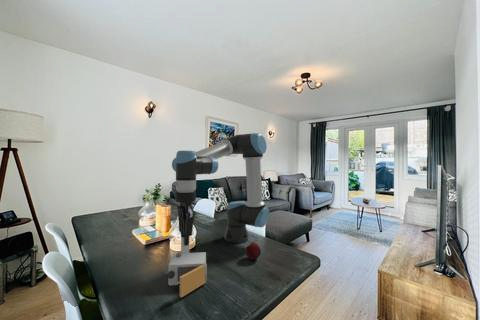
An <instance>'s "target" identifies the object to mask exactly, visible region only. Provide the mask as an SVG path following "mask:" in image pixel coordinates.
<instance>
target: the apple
mask: <svg viewBox="0 0 480 320" xmlns="http://www.w3.org/2000/svg"><path fill="white" fill-rule="evenodd" d="M244 250H245V254H246V256H247V257H246V258H248V259H250V260H251V261H253V260H257V259H258V258H259V257H260V256H261V253H262V250H261V247H260V245H259V244H258V243H256V242H254V241H252V242H251V243H250V244H248V245H247V246H246V247H245V249H244Z"/></svg>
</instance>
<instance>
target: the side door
mask: <svg viewBox="0 0 480 320" xmlns="http://www.w3.org/2000/svg"><path fill="white" fill-rule="evenodd" d="M207 265H208V264H207V263H206V264H204V265H201V266H200V267H198V268H196V269H194V270H192V271H190V272H188V273H186V274H184V275H182V276H180V285H179V298H183V297H185V296H187V295H188V294H190V293H191V292H193V291H195V290H196V289H198V288H199V287H201V286H203V285H204V284H206V283H207V282H208V281H207V278H208V277H207V276H208V273H207V271H208V269H207V267H208V266H207Z"/></svg>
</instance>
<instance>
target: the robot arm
mask: <svg viewBox="0 0 480 320" xmlns="http://www.w3.org/2000/svg"><path fill="white" fill-rule="evenodd" d="M266 152H267V141H266V139H265V136H264V135H263V134H262V133H257V132H256V133H255V132H253V133H244V134H243V133H242V134H241V133H239V134H235V135H233V136H230V137H227V138H224V139H222V140H221V141H220V142H219V143H216V144H213V145H211V146H209V147H206V148H202V149H200V150H198V151H196V150H178V151H177V152H176V154H175V158H173V160H172V161H171V168H172V170H173V171H174V172H175V182H174V186H175V202H176V203H179V206H177V217H178V219H177V220H178V232H179V233H180V253H182V254H185V253H190V237H191V236H193V229H194V220H195V215H196V212H195V211H193V206H192V203H193V202H195V201H196V200H197V192H196V190H197V176H198V175H211V174H215V173H216V172H217V171H218V170H219V161H218V159H221V158H222V157H224V156H227V157H228V156H232V155H242V159H243V160H245V161H244V162H245V176H246V177H245V178H246V179H245V180H246V194H247V195H246V199H247V201H245V200H236V201H231V202H229V203H228V204H227V207H226V210H227V211H226V217H227V218H226V219H227V221H226V222H227V223H226V224H227V225H226V229H225V232H224V240H225V242H228V243H230V244H231V243H232V244H242V243H246V242H247V241H249V233H248V232H249V231H248V229H247V226H251V227H255V228H264V227H265V226H266V224H267V223H268V222H269V219H270V210H269V208H268V207H267V206H266V202H264V201H263V192H262V191H263V190H262V189H263V188H262V186H263V185H262V169H261V168H262V166H261V163H262V162H261V159H262V158H263V157H264V155H263V154H266Z"/></svg>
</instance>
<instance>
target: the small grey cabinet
mask: <svg viewBox="0 0 480 320" xmlns="http://www.w3.org/2000/svg"><path fill="white" fill-rule="evenodd" d="M204 264H207V252H206V251H205V252H204V251H203V252H201V251H200V252H189V253H185V254H182V253H181V252H178V253H173V255H172V257H171V259H170V261H169V264H168V266H167V267H168V268H167V269H168V274H167V279H168V280H167V281H168V285H169V286H179V285H178V284H180V276H182V275H184V274H186V273H188V272H190V271H192V270H194V269H196V268H198V267H200V266H201V265H204Z"/></svg>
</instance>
